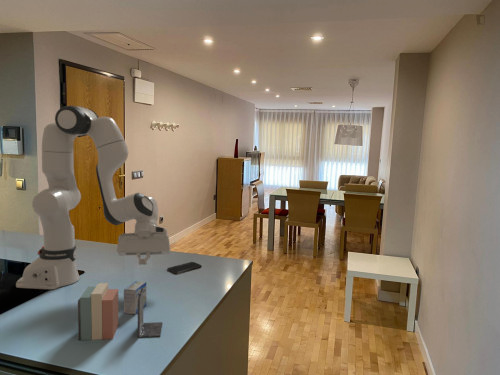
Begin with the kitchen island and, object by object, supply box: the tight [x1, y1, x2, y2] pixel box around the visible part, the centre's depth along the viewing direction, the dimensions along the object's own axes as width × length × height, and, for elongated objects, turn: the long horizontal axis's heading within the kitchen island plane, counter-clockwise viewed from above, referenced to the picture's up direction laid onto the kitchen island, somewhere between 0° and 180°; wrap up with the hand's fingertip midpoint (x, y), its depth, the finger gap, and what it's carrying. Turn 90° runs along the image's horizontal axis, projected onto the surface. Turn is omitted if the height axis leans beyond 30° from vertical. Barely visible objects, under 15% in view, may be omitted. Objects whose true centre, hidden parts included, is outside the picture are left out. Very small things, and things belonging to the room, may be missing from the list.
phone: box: [166, 261, 203, 275], centre depth 166 cm, size 8×1×15 cm
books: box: [79, 282, 119, 341], centre depth 108 cm, size 9×8×14 cm
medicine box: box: [123, 280, 148, 315], centre depth 124 cm, size 8×4×9 cm, turn 168°
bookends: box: [77, 288, 163, 341], centre depth 109 cm, size 23×8×12 cm, turn 99°
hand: (142, 264), depth 138 cm, fingers closed
